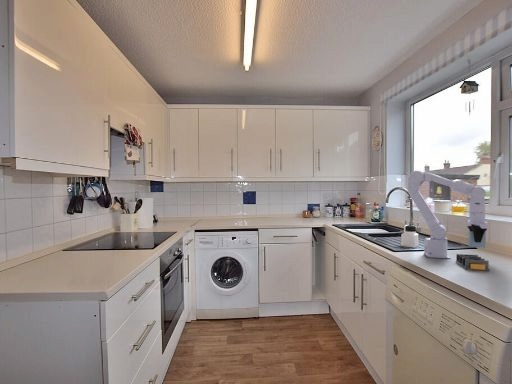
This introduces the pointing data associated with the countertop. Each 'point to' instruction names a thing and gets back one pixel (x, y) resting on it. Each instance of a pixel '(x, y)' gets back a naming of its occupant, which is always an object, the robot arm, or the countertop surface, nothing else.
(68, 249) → the countertop surface
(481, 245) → the panel
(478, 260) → the rack
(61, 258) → the countertop surface
